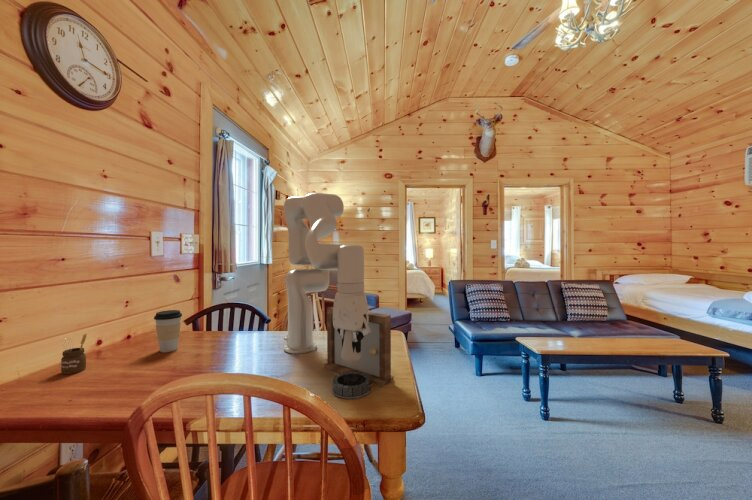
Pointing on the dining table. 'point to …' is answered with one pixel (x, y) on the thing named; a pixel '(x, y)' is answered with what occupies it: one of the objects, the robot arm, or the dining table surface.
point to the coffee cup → (168, 329)
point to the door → (363, 351)
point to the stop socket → (351, 385)
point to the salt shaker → (349, 351)
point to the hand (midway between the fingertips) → (351, 352)
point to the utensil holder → (73, 359)
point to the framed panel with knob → (383, 348)
